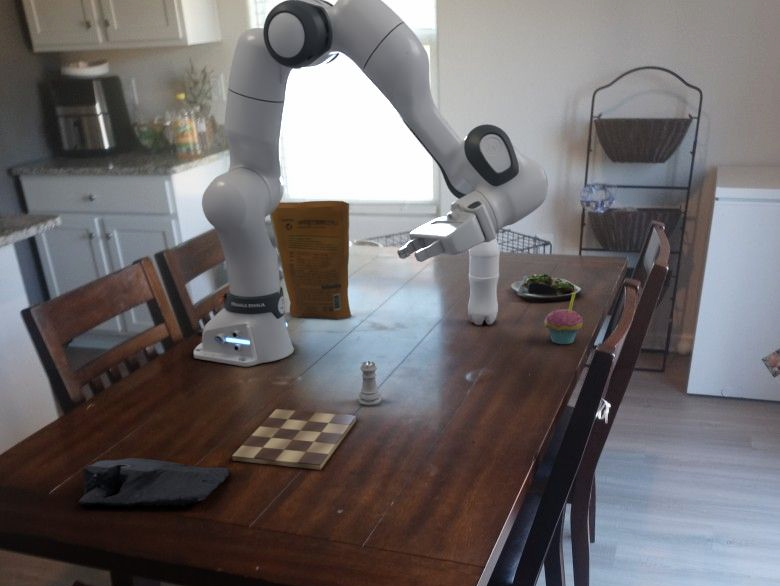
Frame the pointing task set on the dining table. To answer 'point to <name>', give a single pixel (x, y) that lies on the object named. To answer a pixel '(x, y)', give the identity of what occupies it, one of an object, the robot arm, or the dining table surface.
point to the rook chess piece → (369, 385)
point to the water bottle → (483, 282)
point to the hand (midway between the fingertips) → (407, 256)
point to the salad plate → (545, 289)
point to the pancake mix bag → (314, 256)
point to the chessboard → (295, 439)
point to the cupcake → (564, 324)
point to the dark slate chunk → (148, 482)
